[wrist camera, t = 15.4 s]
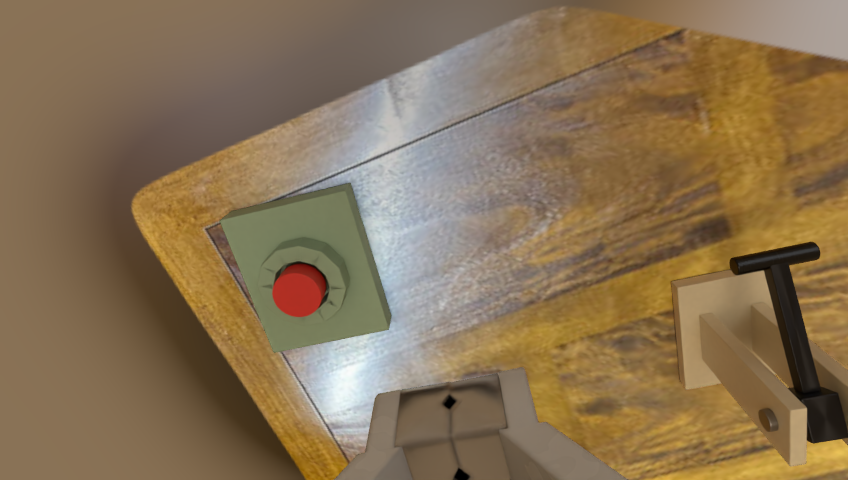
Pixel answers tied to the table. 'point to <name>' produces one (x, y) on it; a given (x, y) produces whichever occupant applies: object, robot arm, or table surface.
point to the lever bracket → (747, 355)
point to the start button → (299, 290)
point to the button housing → (318, 247)
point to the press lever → (797, 337)
